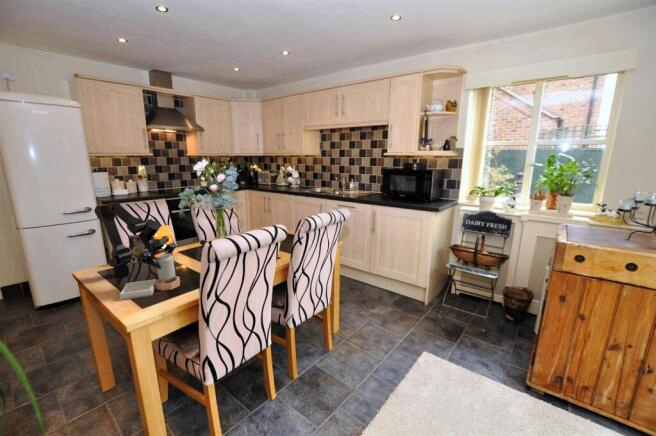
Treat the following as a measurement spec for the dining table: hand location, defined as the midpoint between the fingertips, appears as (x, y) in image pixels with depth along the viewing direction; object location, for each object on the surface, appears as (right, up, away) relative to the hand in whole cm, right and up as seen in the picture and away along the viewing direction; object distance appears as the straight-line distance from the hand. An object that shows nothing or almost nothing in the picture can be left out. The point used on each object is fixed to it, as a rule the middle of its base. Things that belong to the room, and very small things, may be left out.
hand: (167, 265), depth 150 cm
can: (-1, -7, +2) cm, 7 cm away
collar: (-1, -10, +3) cm, 11 cm away
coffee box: (-36, -3, +38) cm, 53 cm away
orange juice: (-25, -1, +45) cm, 52 cm away
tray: (-11, -12, -4) cm, 17 cm away
